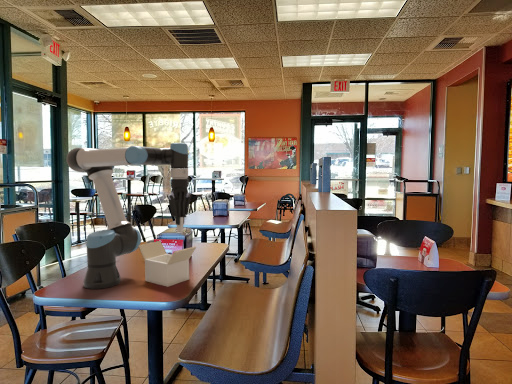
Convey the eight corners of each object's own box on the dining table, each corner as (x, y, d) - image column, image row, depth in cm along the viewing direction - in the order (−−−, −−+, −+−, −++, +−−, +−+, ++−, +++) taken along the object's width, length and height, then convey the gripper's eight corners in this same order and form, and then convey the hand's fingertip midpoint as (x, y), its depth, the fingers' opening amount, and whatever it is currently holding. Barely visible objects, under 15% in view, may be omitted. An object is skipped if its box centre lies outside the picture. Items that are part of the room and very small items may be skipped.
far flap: (138, 245, 164) (137, 245, 165) (145, 259, 162) (144, 259, 162) (160, 240, 175) (159, 241, 175) (166, 253, 173) (166, 254, 173)
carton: (167, 286, 154) (166, 263, 154) (145, 280, 163) (144, 259, 162) (189, 279, 165) (188, 257, 164) (167, 274, 173) (166, 253, 173)
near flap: (167, 263, 154) (167, 264, 153) (174, 251, 151) (174, 252, 150) (188, 257, 164) (189, 258, 164) (195, 246, 161) (196, 247, 161)
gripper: (174, 178, 148) (174, 234, 150) (196, 178, 159) (196, 230, 160) (162, 178, 153) (162, 233, 154) (184, 178, 163) (184, 229, 165)
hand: (180, 231), depth 157 cm, fingers closed
